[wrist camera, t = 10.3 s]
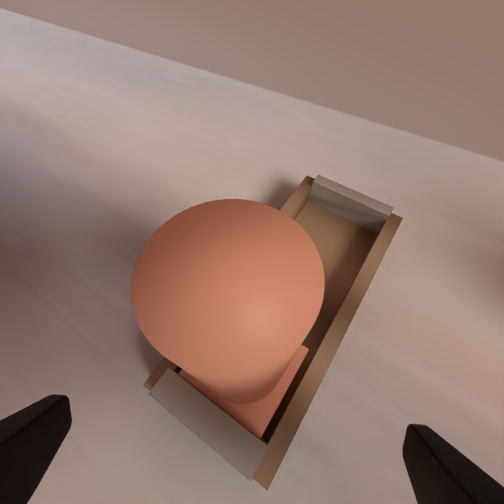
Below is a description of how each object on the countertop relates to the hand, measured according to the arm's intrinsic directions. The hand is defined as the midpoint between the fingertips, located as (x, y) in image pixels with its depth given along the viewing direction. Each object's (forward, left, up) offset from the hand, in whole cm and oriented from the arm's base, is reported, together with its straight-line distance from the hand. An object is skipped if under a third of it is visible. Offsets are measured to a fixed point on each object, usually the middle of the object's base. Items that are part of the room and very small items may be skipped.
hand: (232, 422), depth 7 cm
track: (+6, +4, -9) cm, 11 cm away
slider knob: (+1, +2, -7) cm, 8 cm away
